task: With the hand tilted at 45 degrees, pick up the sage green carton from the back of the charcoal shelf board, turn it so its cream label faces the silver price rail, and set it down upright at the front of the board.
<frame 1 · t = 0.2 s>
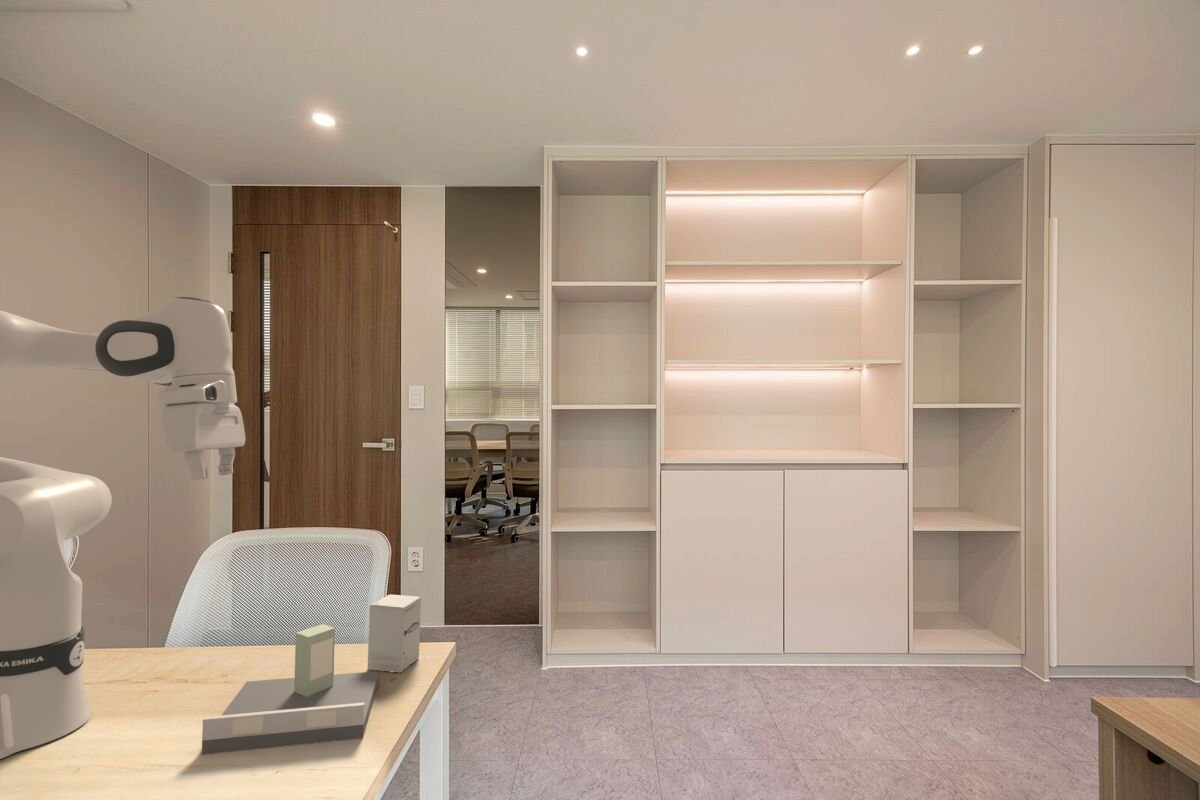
hand: (213, 477, 99), 39 cm above the table, tool pointing down, fingers open, 8 cm apart
shelf board: (300, 713, 98), on the table
sage carton: (314, 688, 103), point 2 cm above the table, touching shelf board
supplement box: (394, 665, 118), on the table
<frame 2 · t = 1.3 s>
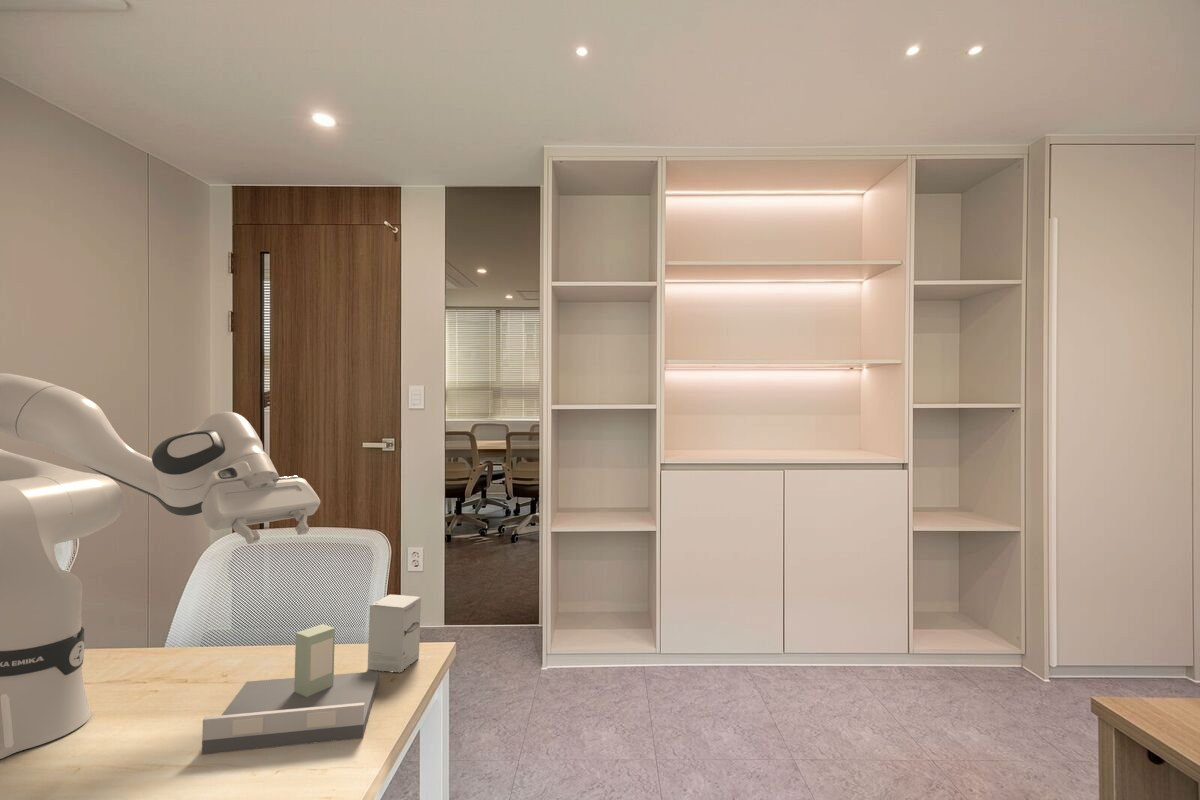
hand: (280, 536, 110), 26 cm above the table, tool tilted 45°, fingers open, 8 cm apart
nothing on the table moved.
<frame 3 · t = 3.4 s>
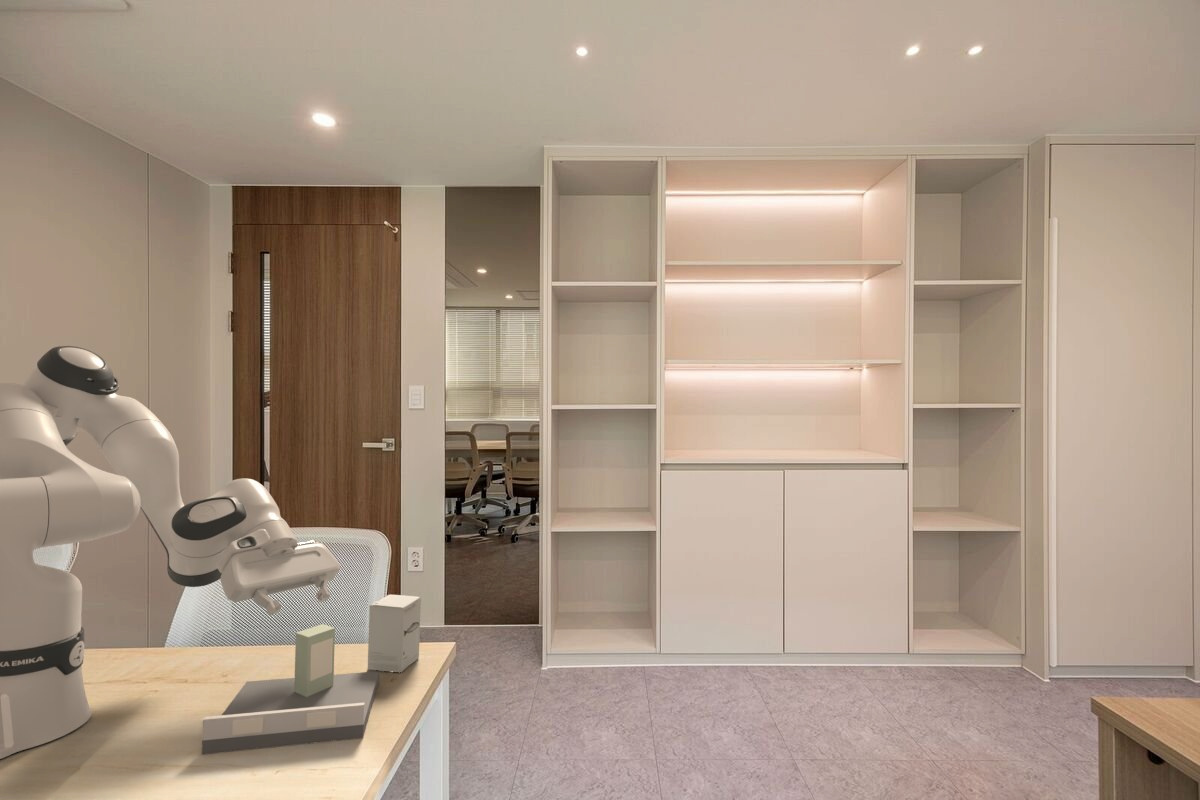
hand: (301, 605, 107), 15 cm above the table, tool tilted 50°, fingers open, 8 cm apart
nothing on the table moved.
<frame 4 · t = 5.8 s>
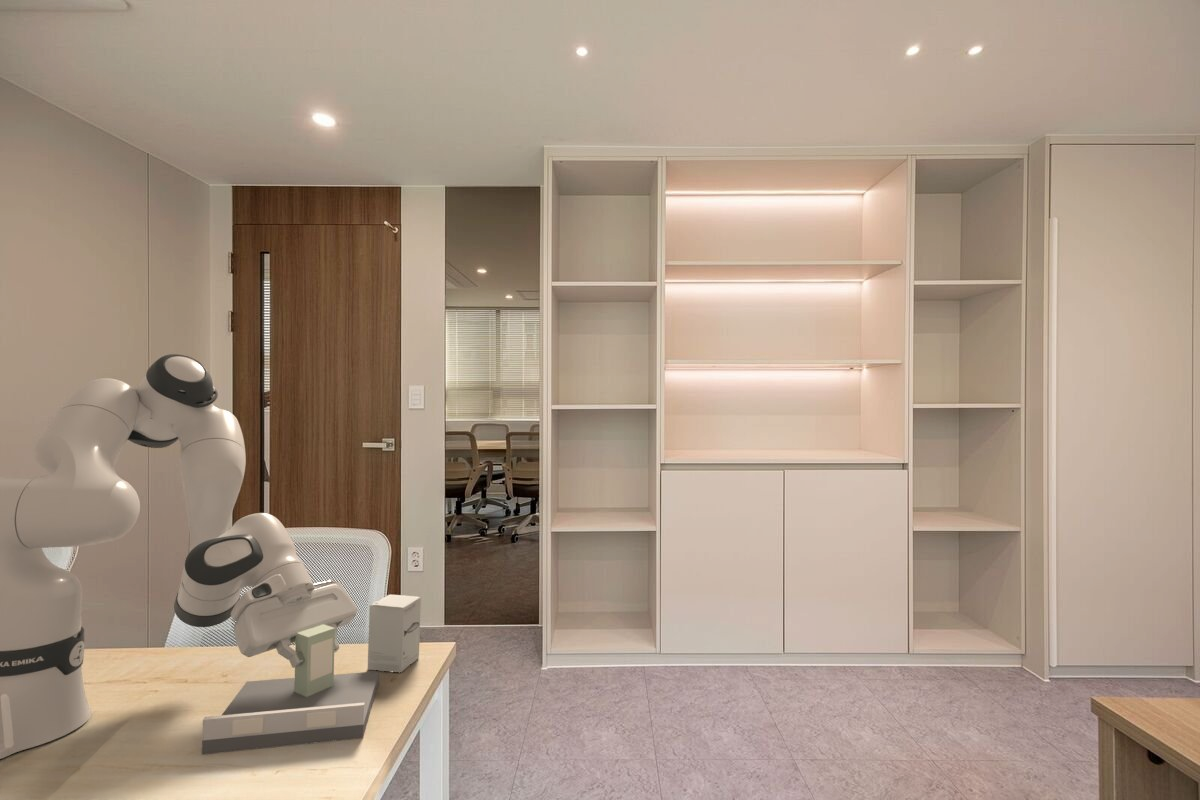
hand: (317, 658, 102), 7 cm above the table, tool tilted 45°, fingers closed on sage carton, 5 cm apart
sage carton: (314, 688, 103), point 2 cm above the table, touching gripper, shelf board
everything else where it was.
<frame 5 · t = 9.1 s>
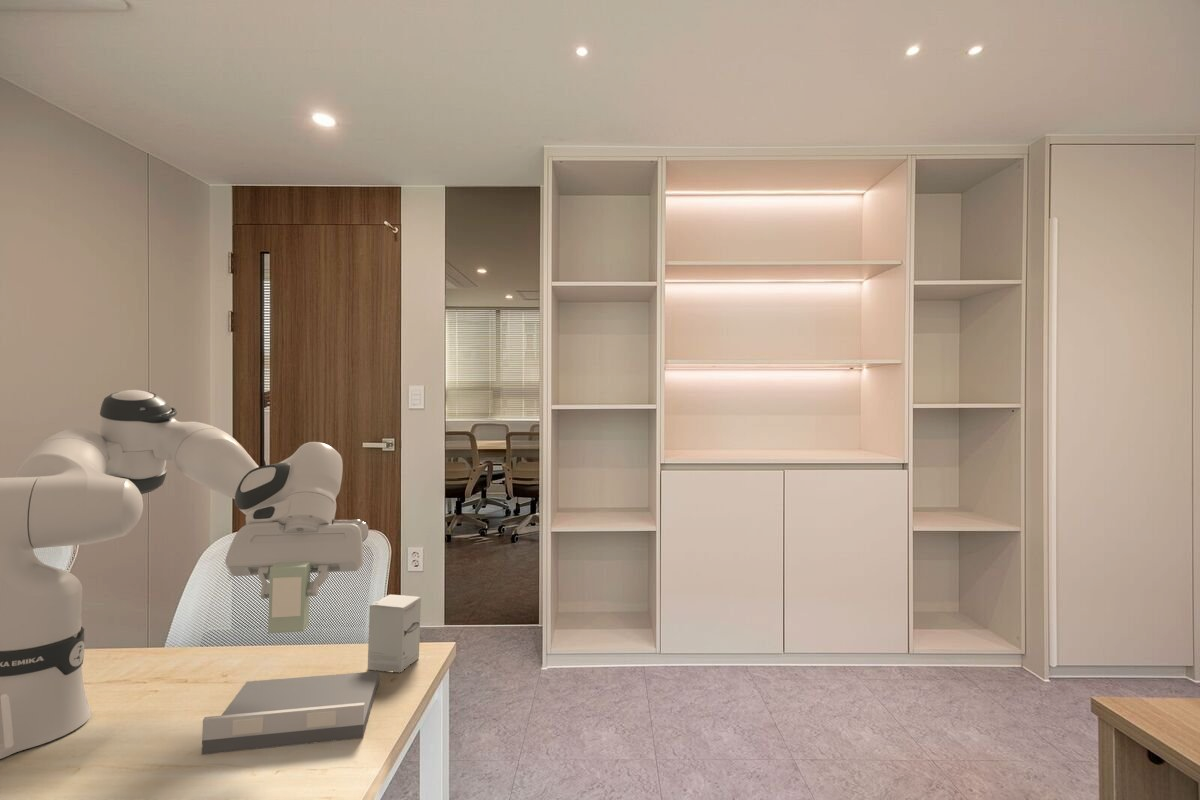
hand: (288, 595, 93), 21 cm above the table, tool tilted 45°, fingers closed on sage carton, 5 cm apart
sage carton: (288, 628, 93), point 16 cm above the table, touching gripper
everything else where it was.
when the fingers open (9 cm above the table, at t = 12.4 s): sage carton drops 1 cm, resting on shelf board.
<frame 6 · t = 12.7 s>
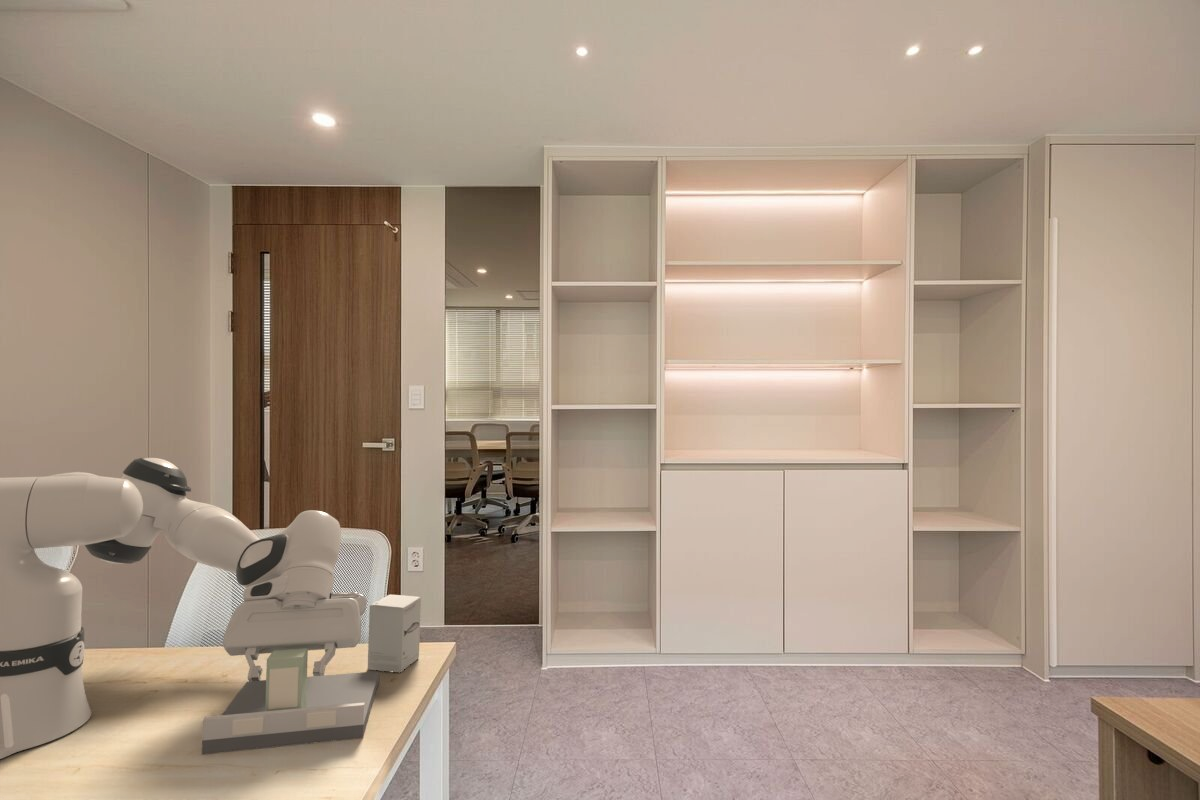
hand: (286, 677, 93), 9 cm above the table, tool tilted 45°, fingers open, 8 cm apart
sage carton: (285, 717, 93), point 2 cm above the table, touching shelf board
everything else where it was.
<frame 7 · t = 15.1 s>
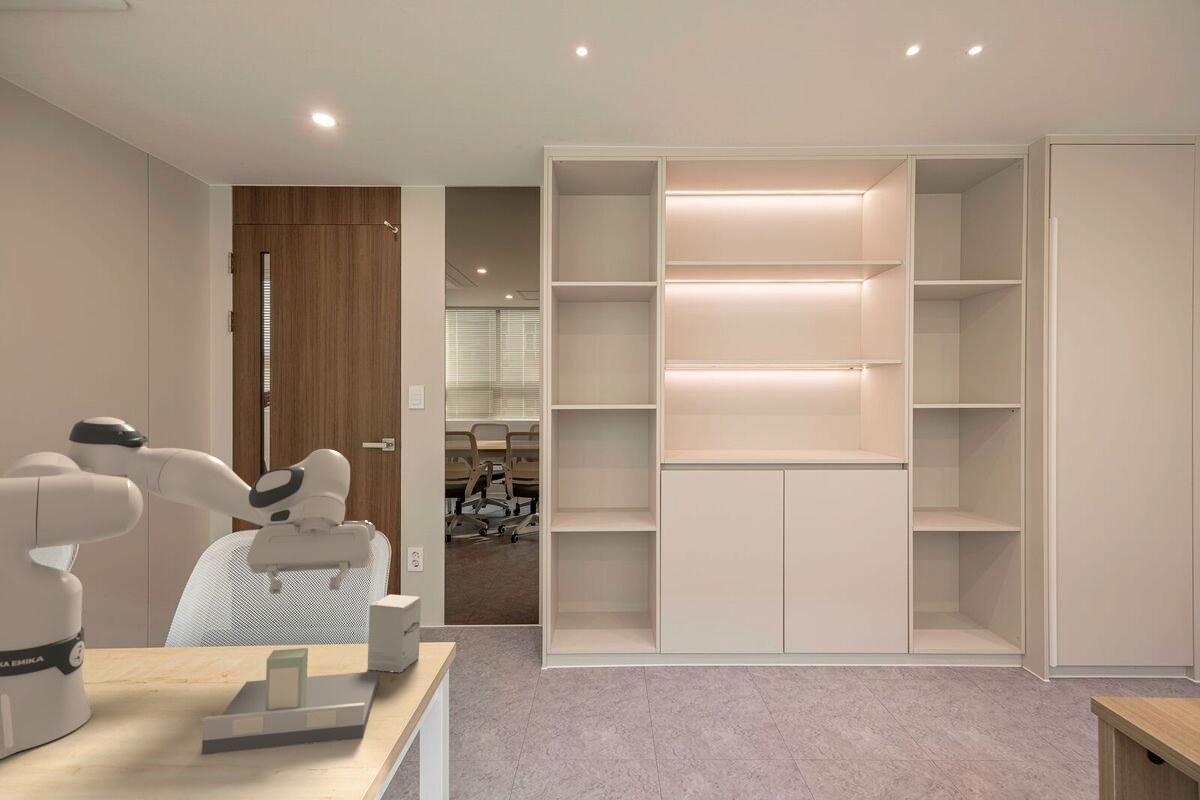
hand: (304, 590, 103), 19 cm above the table, tool tilted 45°, fingers open, 8 cm apart
nothing on the table moved.
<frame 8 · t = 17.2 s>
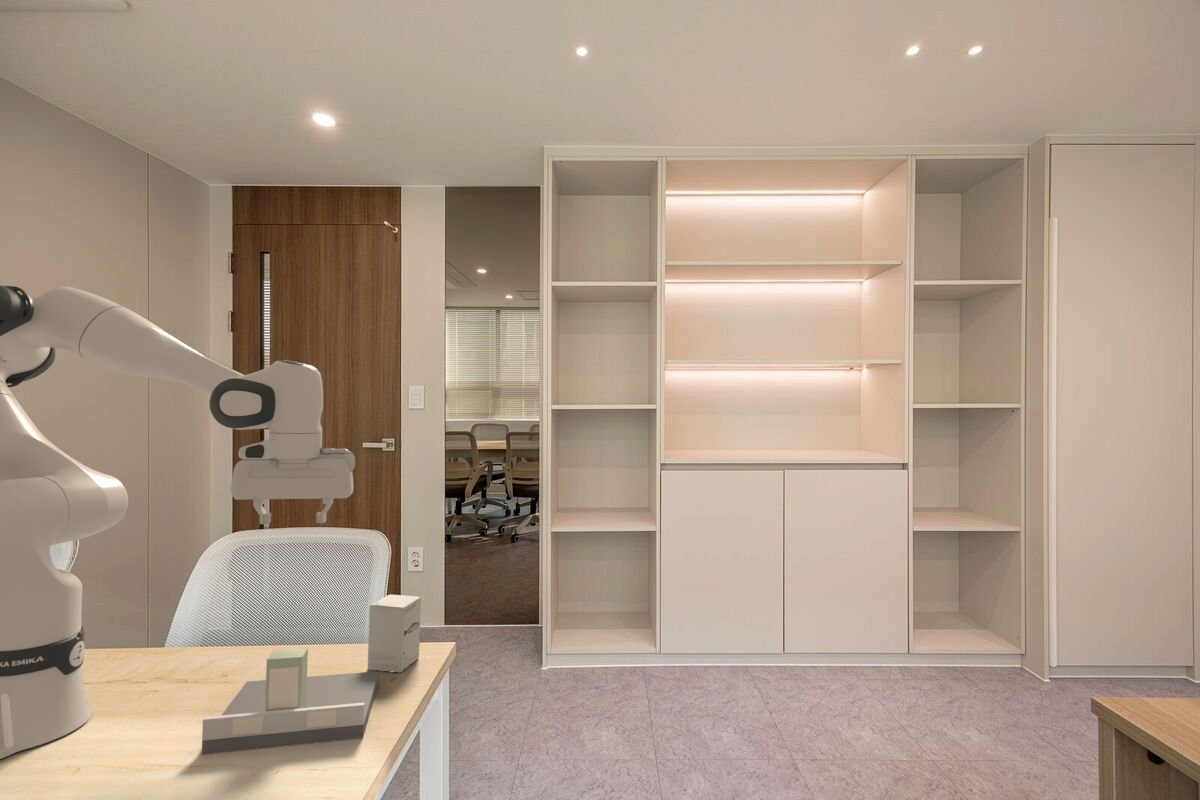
hand: (293, 522, 110), 29 cm above the table, tool pointing down, fingers open, 8 cm apart
nothing on the table moved.
at the end: sage carton 0.1 cm from the target spot on the shelf board, point 2.0 cm above the shelf board's base; sage carton tilted 0°; the gripper is holding nothing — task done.
